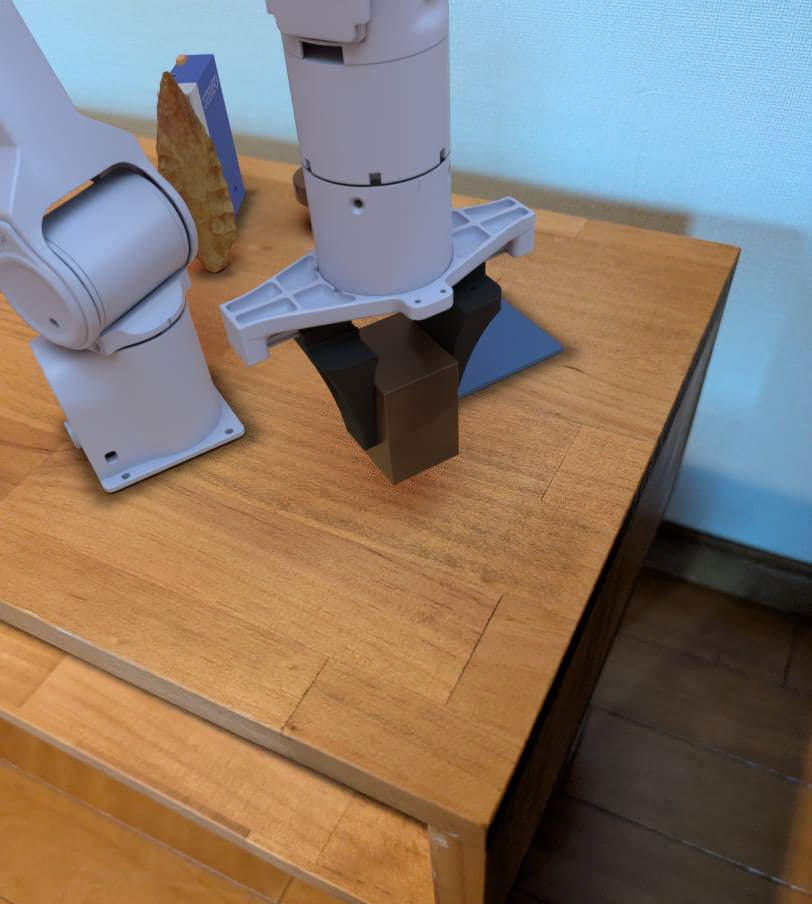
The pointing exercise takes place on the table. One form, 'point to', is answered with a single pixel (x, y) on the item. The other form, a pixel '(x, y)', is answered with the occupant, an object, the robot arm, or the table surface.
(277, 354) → the table surface
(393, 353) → the block
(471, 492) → the table surface
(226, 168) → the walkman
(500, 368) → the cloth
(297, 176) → the mushroom
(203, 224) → the stone tool
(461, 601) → the table surface
